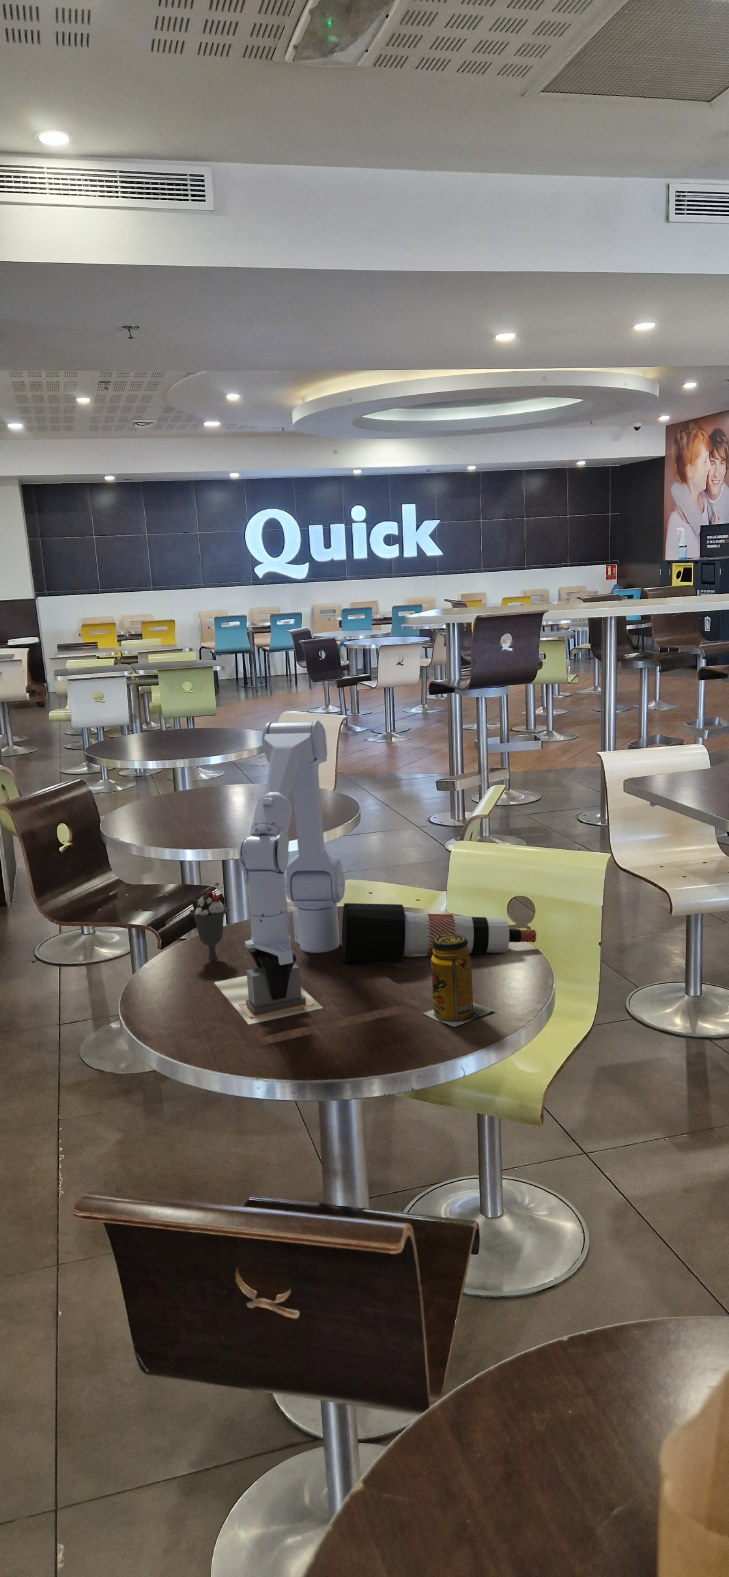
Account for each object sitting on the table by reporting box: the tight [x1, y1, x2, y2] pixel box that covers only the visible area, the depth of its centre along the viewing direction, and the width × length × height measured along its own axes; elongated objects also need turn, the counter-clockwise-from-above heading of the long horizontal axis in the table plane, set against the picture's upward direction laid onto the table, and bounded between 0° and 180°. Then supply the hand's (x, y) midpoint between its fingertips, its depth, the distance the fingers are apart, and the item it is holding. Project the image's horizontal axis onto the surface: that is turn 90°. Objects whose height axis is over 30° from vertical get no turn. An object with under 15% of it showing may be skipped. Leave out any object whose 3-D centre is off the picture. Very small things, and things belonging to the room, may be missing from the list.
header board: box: [213, 975, 324, 1025], centre depth 163 cm, size 20×12×5 cm, turn 24°
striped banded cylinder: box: [341, 902, 537, 963], centre depth 178 cm, size 10×34×10 cm, turn 92°
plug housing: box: [246, 963, 302, 1007], centre depth 158 cm, size 3×8×5 cm, turn 114°
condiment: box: [422, 935, 495, 1027], centre depth 153 cm, size 7×8×12 cm
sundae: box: [189, 882, 228, 962], centre depth 180 cm, size 7×7×15 cm
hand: (275, 994), depth 158 cm, fingers closed on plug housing, 3 cm apart
